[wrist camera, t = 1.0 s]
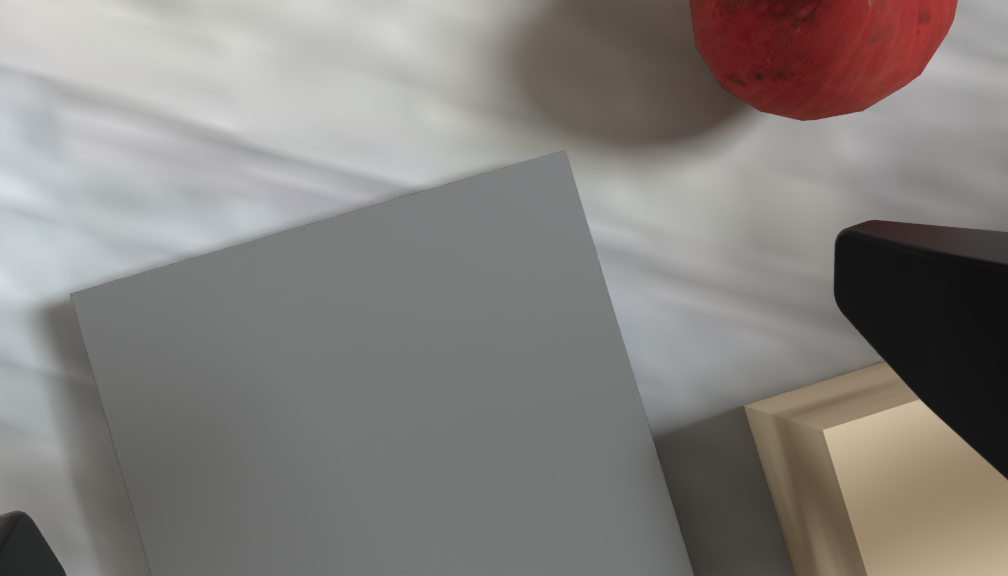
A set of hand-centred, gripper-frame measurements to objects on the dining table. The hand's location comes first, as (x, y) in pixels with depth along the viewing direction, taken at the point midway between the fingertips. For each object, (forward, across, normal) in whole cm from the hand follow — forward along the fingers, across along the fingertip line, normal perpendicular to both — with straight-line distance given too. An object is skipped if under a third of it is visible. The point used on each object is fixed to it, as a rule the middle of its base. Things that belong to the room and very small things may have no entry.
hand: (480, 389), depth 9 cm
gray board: (+11, +1, +9) cm, 14 cm away
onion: (+13, -12, +2) cm, 18 cm away
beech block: (+7, -11, +12) cm, 18 cm away
